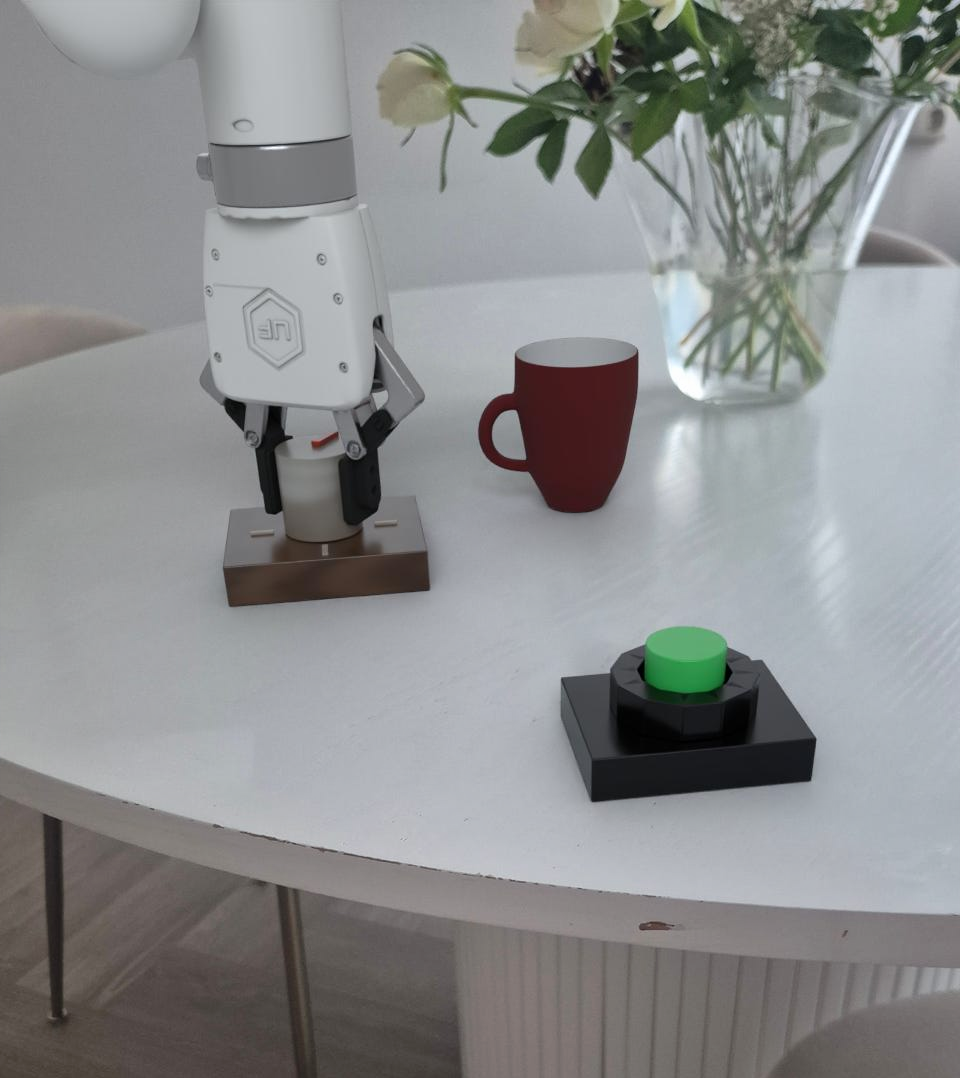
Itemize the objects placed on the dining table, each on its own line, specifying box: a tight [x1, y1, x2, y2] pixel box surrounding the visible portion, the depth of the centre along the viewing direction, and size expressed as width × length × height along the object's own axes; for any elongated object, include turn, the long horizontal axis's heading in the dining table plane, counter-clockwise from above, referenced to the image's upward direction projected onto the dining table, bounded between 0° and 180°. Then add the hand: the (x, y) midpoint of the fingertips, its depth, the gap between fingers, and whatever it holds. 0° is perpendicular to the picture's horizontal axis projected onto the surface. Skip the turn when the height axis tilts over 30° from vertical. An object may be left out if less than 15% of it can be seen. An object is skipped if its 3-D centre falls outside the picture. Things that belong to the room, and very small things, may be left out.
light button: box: [644, 625, 728, 693], centre depth 57 cm, size 4×4×2 cm
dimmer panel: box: [222, 495, 431, 607], centre depth 78 cm, size 12×10×3 cm
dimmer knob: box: [275, 429, 363, 542], centre depth 76 cm, size 5×5×5 cm
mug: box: [477, 336, 640, 513], centre depth 84 cm, size 10×8×10 cm
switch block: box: [560, 644, 818, 803], centre depth 58 cm, size 10×8×4 cm
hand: (322, 509), depth 77 cm, fingers closed on dimmer knob, 4 cm apart
